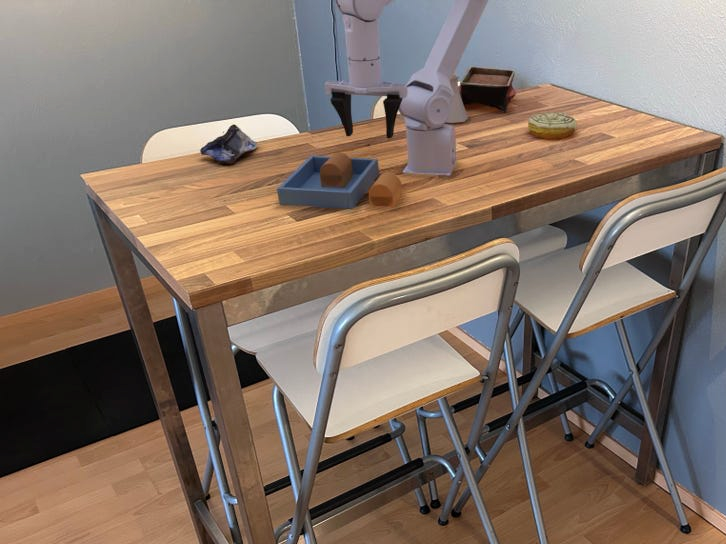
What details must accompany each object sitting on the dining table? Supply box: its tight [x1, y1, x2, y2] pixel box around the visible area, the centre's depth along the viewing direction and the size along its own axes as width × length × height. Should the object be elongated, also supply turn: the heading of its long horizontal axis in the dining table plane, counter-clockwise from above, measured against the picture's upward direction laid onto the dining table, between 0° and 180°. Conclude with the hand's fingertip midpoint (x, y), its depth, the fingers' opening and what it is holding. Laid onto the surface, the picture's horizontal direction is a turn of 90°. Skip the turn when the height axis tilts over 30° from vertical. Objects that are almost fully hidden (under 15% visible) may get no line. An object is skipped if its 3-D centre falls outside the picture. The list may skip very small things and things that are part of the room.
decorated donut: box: [527, 112, 578, 140], centre depth 164 cm, size 10×11×4 cm
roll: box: [320, 152, 353, 188], centre depth 140 cm, size 4×6×5 cm
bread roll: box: [368, 171, 403, 208], centre depth 133 cm, size 4×6×5 cm
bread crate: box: [276, 155, 380, 210], centre depth 137 cm, size 14×17×4 cm
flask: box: [445, 73, 469, 124], centre depth 172 cm, size 7×7×10 cm
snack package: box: [199, 123, 259, 165], centre depth 153 cm, size 12×6×12 cm
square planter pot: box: [458, 66, 517, 113], centre depth 182 cm, size 14×18×10 cm
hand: (369, 135), depth 136 cm, fingers open, 7 cm apart
